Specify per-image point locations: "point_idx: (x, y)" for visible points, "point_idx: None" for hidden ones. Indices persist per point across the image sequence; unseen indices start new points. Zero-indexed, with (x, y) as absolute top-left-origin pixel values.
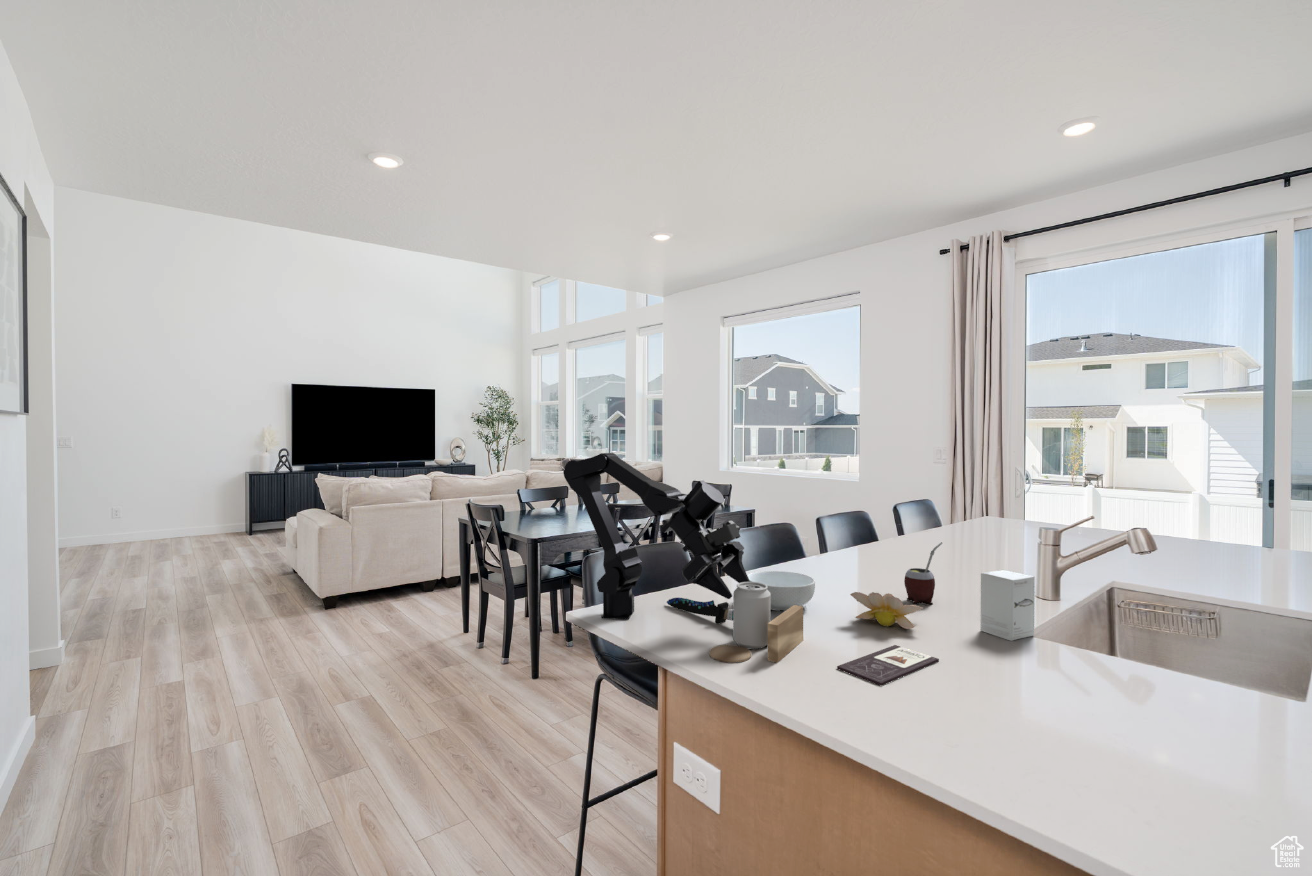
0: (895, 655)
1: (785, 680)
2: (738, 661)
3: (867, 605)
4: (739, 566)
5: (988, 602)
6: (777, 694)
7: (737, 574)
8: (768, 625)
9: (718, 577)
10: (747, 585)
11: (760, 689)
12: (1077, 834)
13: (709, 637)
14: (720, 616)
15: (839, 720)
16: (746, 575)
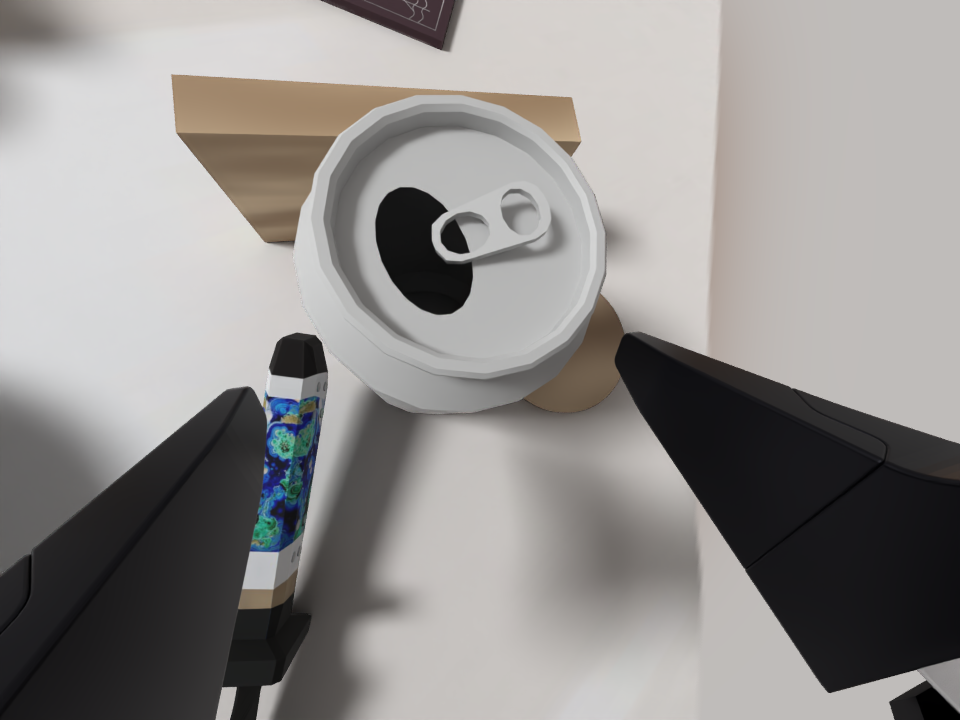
0: None
1: (598, 141)
2: None
3: None
4: (41, 684)
5: None
6: (667, 132)
7: (184, 615)
8: (575, 144)
9: (856, 423)
10: (424, 311)
11: (674, 171)
12: None
13: (478, 508)
14: (288, 621)
15: (671, 4)
16: (148, 472)
